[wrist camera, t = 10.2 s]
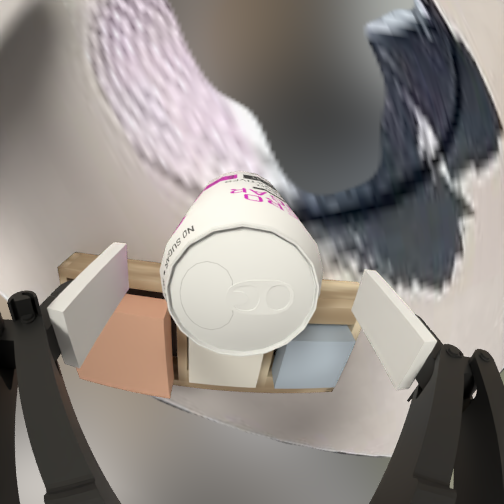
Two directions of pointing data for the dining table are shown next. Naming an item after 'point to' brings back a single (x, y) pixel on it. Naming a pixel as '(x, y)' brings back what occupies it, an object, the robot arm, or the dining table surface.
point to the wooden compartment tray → (148, 278)
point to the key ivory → (222, 368)
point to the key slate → (313, 357)
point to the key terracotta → (134, 349)
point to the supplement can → (241, 268)
